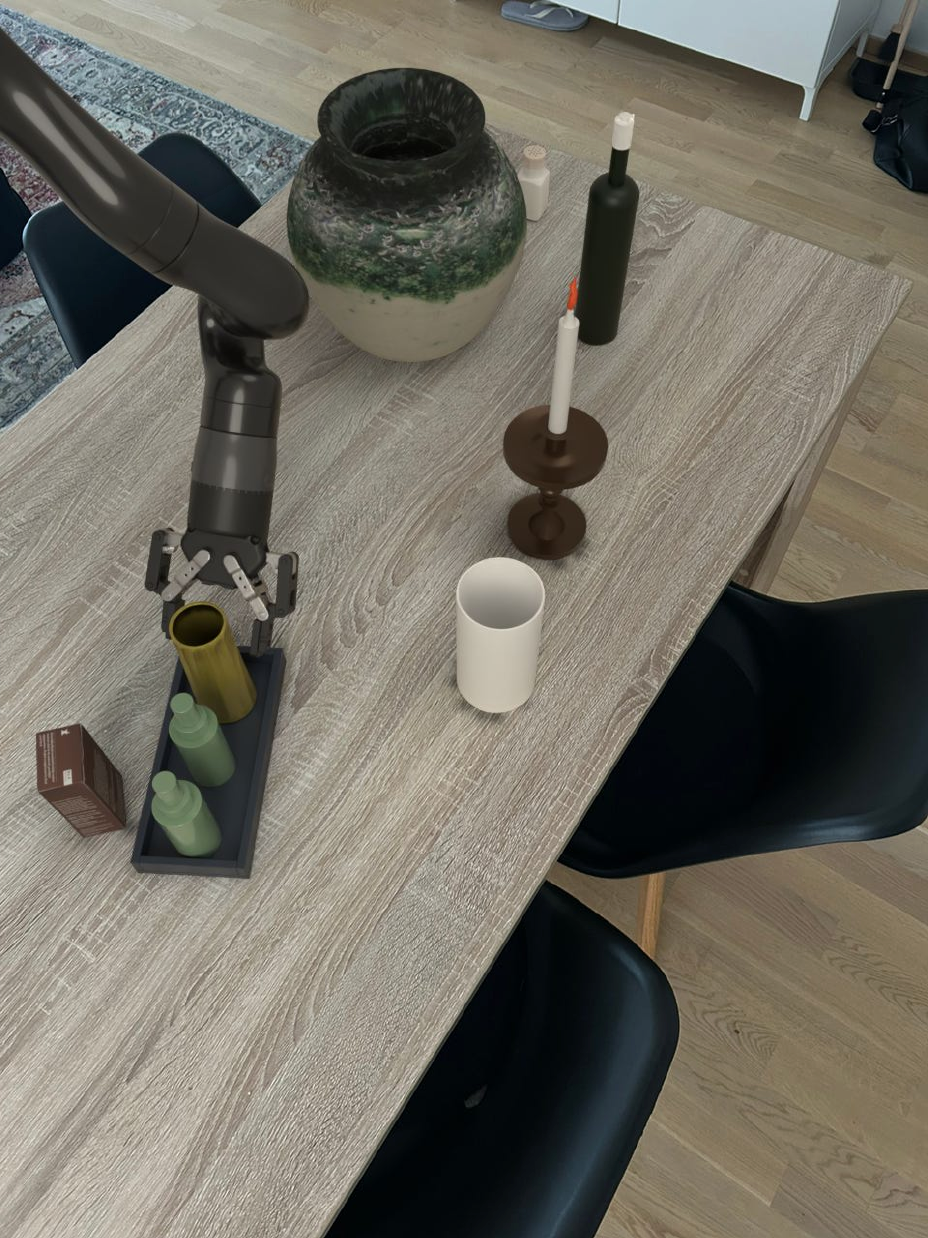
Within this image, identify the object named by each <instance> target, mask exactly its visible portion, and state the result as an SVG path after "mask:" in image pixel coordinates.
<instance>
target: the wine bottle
mask: <svg viewBox="0 0 928 1238" xmlns="http://www.w3.org/2000/svg"><path fill="white" fill-rule="evenodd" d="M635 115H636V114H635V113H633V114H631V113H630V112H627V111H623V110H621V112H620V113H619V114H617V115H615V117H614V121H613V128H612V136H611V151H610V158H609V166H608V172H605V173H602V174H601V175H599V176H597V178H595V179H594V180H593V182H592V183H591V185H590V187H589V191H588V199H587V206H586V207H587V208H586V217H585V225H584V234H583V240H582V241H583V243H582V249H581V250H582V251H581V259H580V269H579V276H578V277H579V278H578V287H577V291H578V295H577V302H576V304H575V312H574V317H576V318H577V319H578V320H579V330H578V338H577V340H579V341H580V342H582V343H584V344H587V345H591V346H603V345H607V344H609V343H611V342H612V341H614V340H615V338H616V337H617V335H618V330H619V323H620V318H621V311H622V305H623V300H624V293H625V287H626V281H627V276H628V268H629V263H630V257H631V250H632V245H633V244H632V243H633V238H634V231H635V226H636V219H637V214H638V213H637V212H638V206H639V201H640V189H639V186H638V184H637V182H636V180H635V179H633V177H632V176H630V175H628V174H627V170H628V161H629V157H630V156H629V155H630V150H631V149H630V148H631V146H632V141H633V134H634V127H635Z"/></svg>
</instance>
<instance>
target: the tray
mask: <svg viewBox="0 0 928 1238" xmlns="http://www.w3.org/2000/svg"><path fill="white" fill-rule="evenodd" d="M250 647H251V645H250V646H249V645H237V648H238V650H239V653H240V655H241V657H242V660H243V662H244V664H245V666H246V668H247V671H248V673H249V675H250V677H251V679H252V680H253V682H254V684H255V687H256V690H257V698H256V702H255V705H254V707H253V708H252V710H251V711H250V712H249V713H248V714H247V715H246V716H245V717H243V718H241V719H240V720H238V721H235V722H232V723H219V724H220V726H221V729H222V731H223V733H224V735H225V738H226V740H227V742H228V744H229V747H230V749H231V751H232V754H233V756H234V758H235V770H234V773H233V775H232V776H231V777H230V779H229V780H228V781H226V782H225V783H224V784H222V785H219V786H216V787H204V786H201V785H199V784H198V783H197V782H196V781H195V780H194V779H193V777H192V776H191V774H190V772H189V770H188V768H187V766H186V764H185V763H184V761H183V759H182V757H181V755H180V753H179V752H178V750H177V748H176V746H175V744H174V742H173V740H172V739H171V737H170V734H169V725H170V722H171V720H172V718H173V716H174V712H173V710H172V708H171V705H170V704H171V700H172V698H173V697H174V696H175V695H177V694H179V693H187V694H189V695H191V696H192V698H193V700H194V702H195V704H197V701H196V697H195V695H194V693H193V691H192V688H191V685H190V682H189V680H188V678H187V675H186V673H185V670H184V667H183V665H182V662H181V660H180V657H179V655H178V656H177V660H176V661H177V662H176V665H175V669H174V674H173V678H172V682H171V686H170V691H169V695H168V699H167V703H166V708H165V713H164V717H163V720H162V725H161V730H160V734H159V737H158V738H159V739H158V741H157V747H156V751H155V755H154V758H153V764H152V768H151V772H150V777H149V780H148V783H147V789H146V793H145V798H144V801H143V805H142V806H143V807H142V810H141V815H140V818H139V824H138V828H137V833H136V835H135V841H134V845H133V849H132V853H131V858H130V861H129V862H130V865H131V866H132V867H133V869H135V871H136V873H138V874H151V875H152V874H154V875H172V876H189V877H205V878H206V877H208V878H227V879H242V880H243V879H245V880H249V879H251V873H252V868H253V860H254V856H255V849H256V843H257V838H258V832H259V827H260V819H261V814H262V808H263V802H264V797H265V791H266V785H267V778H268V774H269V773H268V772H269V766H270V761H271V755H272V749H273V745H274V744H273V742H274V737H275V733H276V732H275V731H276V725H277V721H278V720H277V719H278V713H279V709H280V703H281V697H282V696H281V695H282V689H283V686H284V685H283V684H284V678H285V673H286V667H287V660H286V659H287V658H286V655H285V651H284V648H283V647H274V646H273V647H271V646H270V647H269V649H268V650H267V651H265V652H264V653H263V654H262V655H261V656H259V657H258V658H256V657H252V656H250ZM162 771H169V772H171V773H173V774H174V775H175V777H176V779H177V780H185V781H189V782H191V783H193V784H194V785H196V786H197V787H198V789H199V790H200V792H201V794H202V796H203V798H204V799H205V801H206V803H207V805H208V807H209V809H210V811H211V812H212V814H213V816H214V818H215V820H216V822H217V824H218V825H219V827H220V829H221V833H222V839H221V844H220V846H219V848H218V850H217V851H216V852H215V853H214V854H213V855H212V856H211V857H209V858H207V859H197V858H182V857H181V856H180V855H179V854H178V852H177V851H176V849H175V848H174V846H173V845H172V843H171V842H170V840H169V839H168V837H167V836H166V834H165V833H164V831H163V830H162V828H161V827H160V825H159V824H158V822H157V821H156V819H155V818H154V816H153V814H152V809H151V805H152V800H153V798H154V795H155V794H156V792H155V791H154V789H153V787H152V780H153V778H154V777H155V775H157V774H158V773H160V772H162Z"/></svg>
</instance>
